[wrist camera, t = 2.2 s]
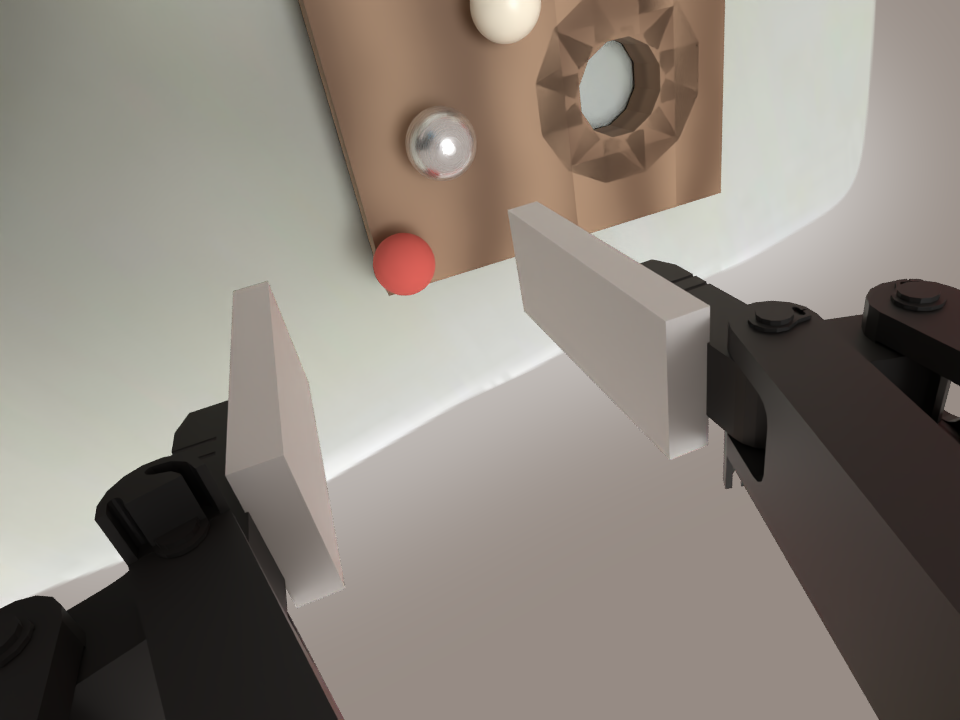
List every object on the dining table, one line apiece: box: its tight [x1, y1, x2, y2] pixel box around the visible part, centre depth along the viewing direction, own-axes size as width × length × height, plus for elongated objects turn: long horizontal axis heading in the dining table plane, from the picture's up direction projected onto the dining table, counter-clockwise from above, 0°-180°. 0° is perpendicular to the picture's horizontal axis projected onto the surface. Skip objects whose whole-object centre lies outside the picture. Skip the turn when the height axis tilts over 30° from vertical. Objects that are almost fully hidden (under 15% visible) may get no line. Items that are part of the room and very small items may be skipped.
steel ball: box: [405, 106, 477, 181], centre depth 28 cm, size 3×3×3 cm
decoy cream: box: [470, 0, 541, 44], centre depth 26 cm, size 3×3×3 cm
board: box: [298, 0, 725, 296], centre depth 31 cm, size 20×14×2 cm
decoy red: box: [373, 233, 435, 295], centre depth 30 cm, size 3×3×3 cm
